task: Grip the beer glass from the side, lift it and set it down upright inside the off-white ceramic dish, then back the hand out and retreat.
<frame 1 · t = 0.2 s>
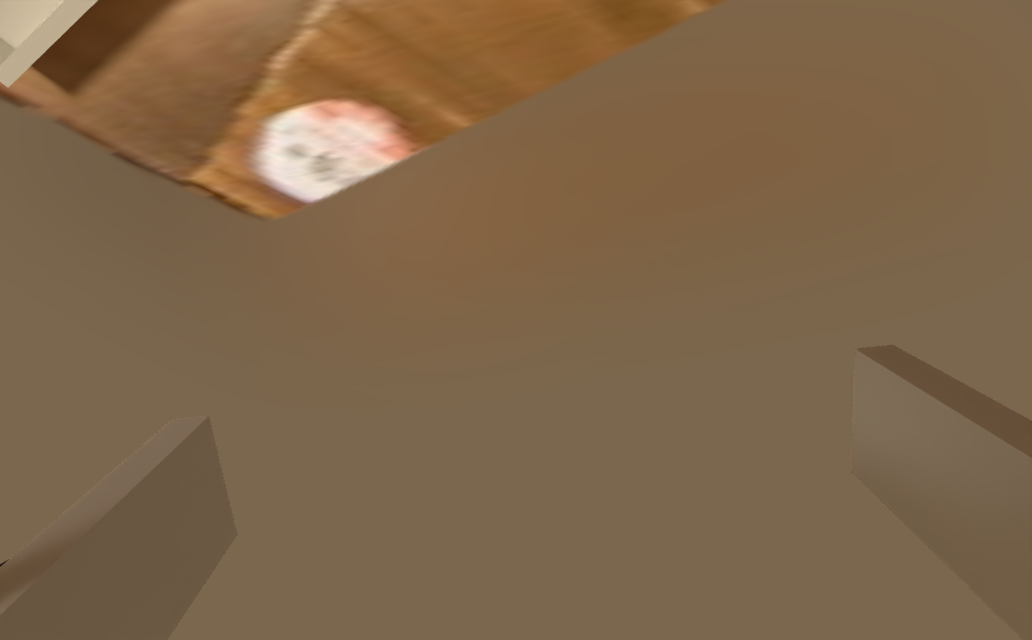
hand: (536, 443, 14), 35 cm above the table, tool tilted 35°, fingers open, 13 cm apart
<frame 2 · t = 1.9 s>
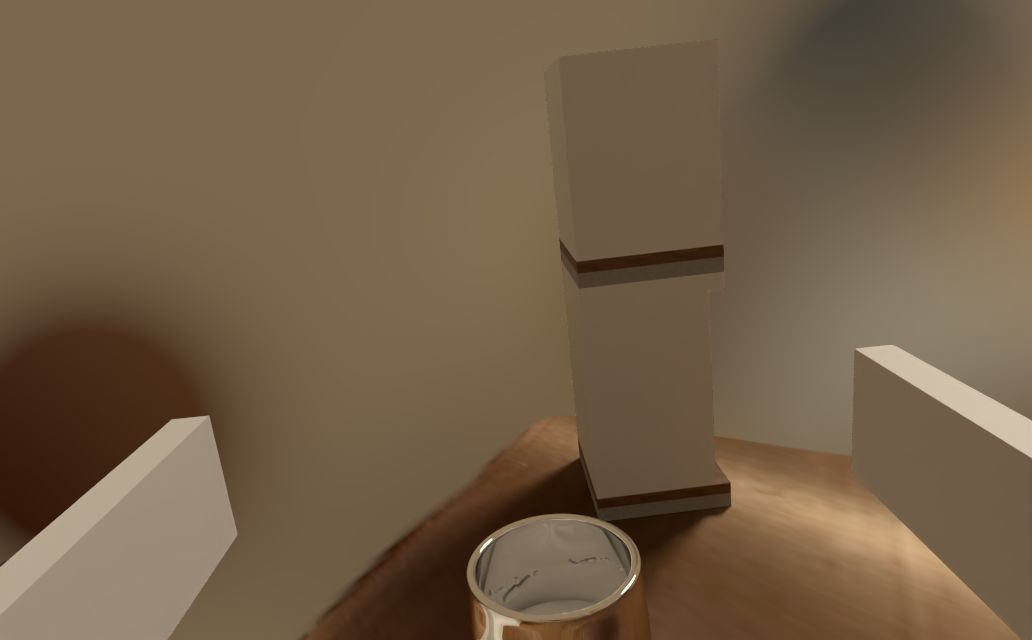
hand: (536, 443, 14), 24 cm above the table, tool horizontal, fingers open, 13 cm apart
tall white shelf unit: (648, 481, 61), on the table
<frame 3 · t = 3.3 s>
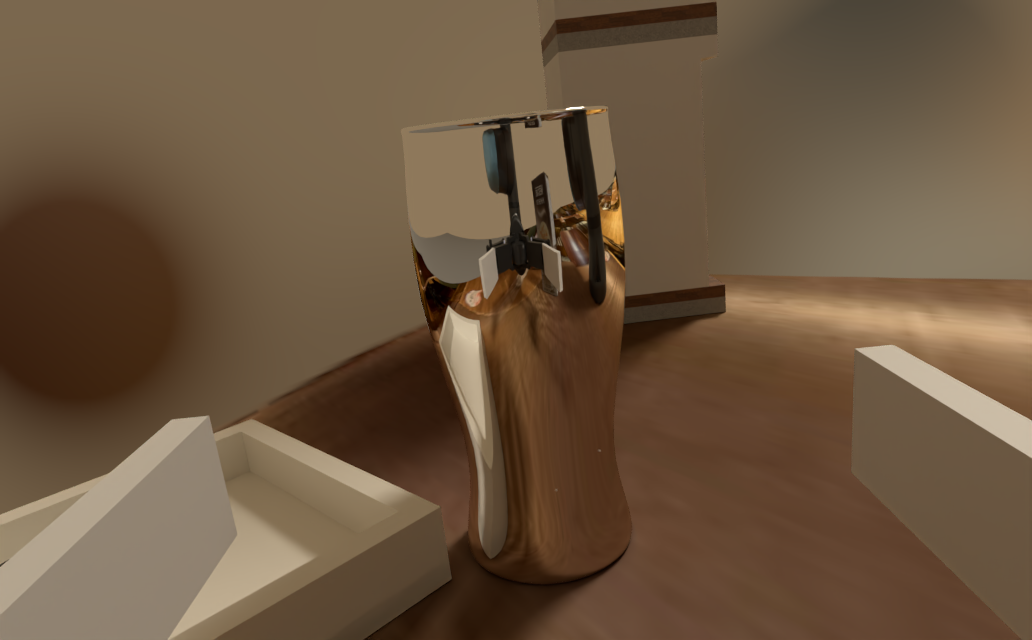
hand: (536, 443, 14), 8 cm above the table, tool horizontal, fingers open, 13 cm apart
tall white shelf unit: (637, 304, 56), on the table
beer glass: (550, 538, 26), on the table
dish: (167, 608, 24), on the table
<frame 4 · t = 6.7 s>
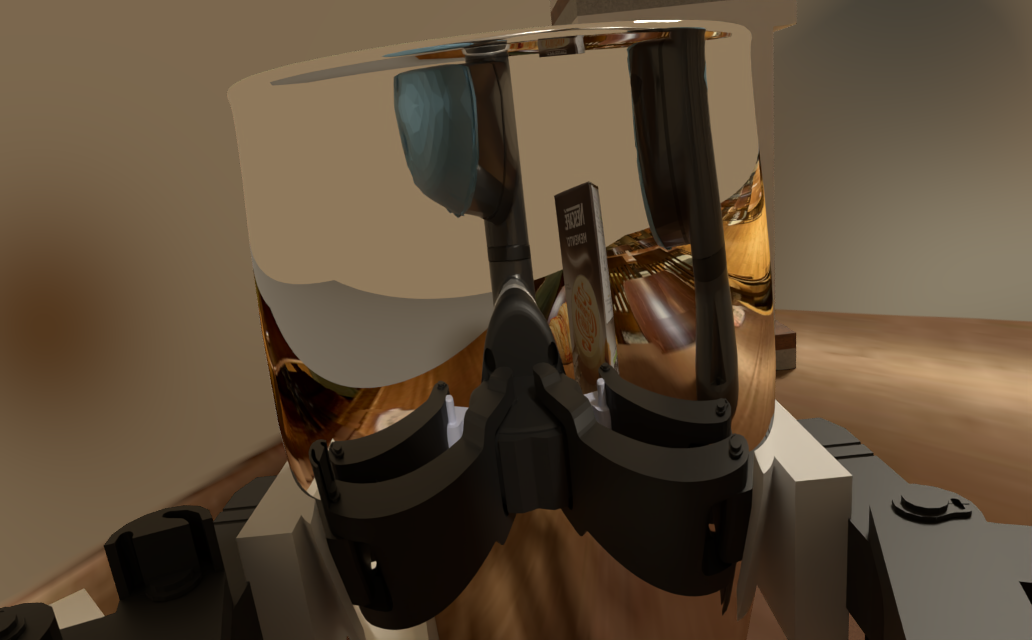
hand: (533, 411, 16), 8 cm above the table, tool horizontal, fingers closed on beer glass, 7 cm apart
tall white shelf unit: (673, 351, 44), on the table
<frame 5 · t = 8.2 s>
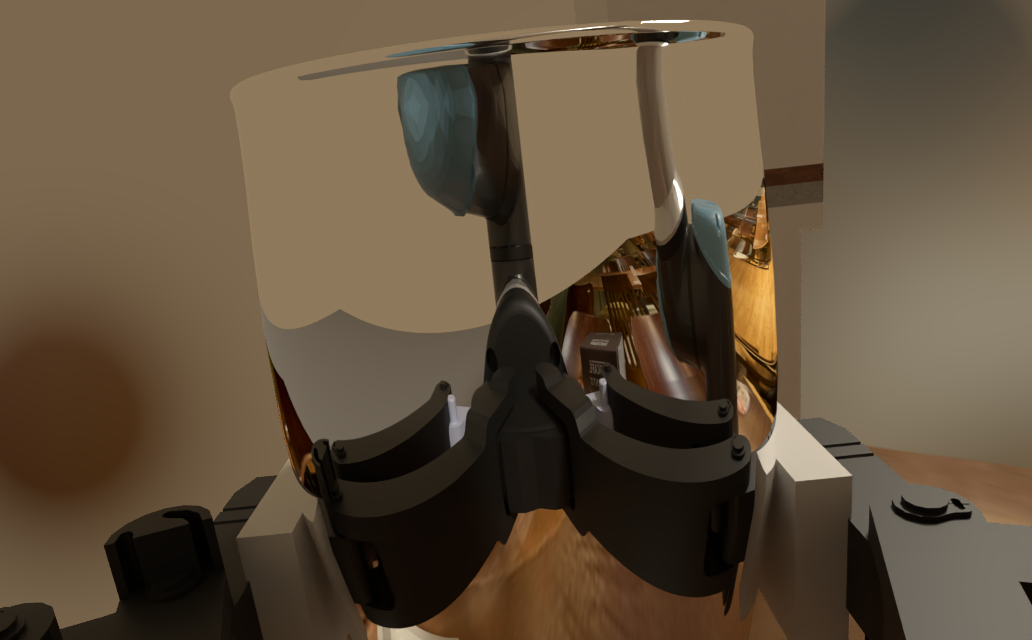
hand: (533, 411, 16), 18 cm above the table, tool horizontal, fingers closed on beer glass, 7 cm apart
tall white shelf unit: (701, 490, 47), on the table
when the fingers open (10 cm above the table, at t = 10.7 s): beer glass drops 1 cm, resting on dish.
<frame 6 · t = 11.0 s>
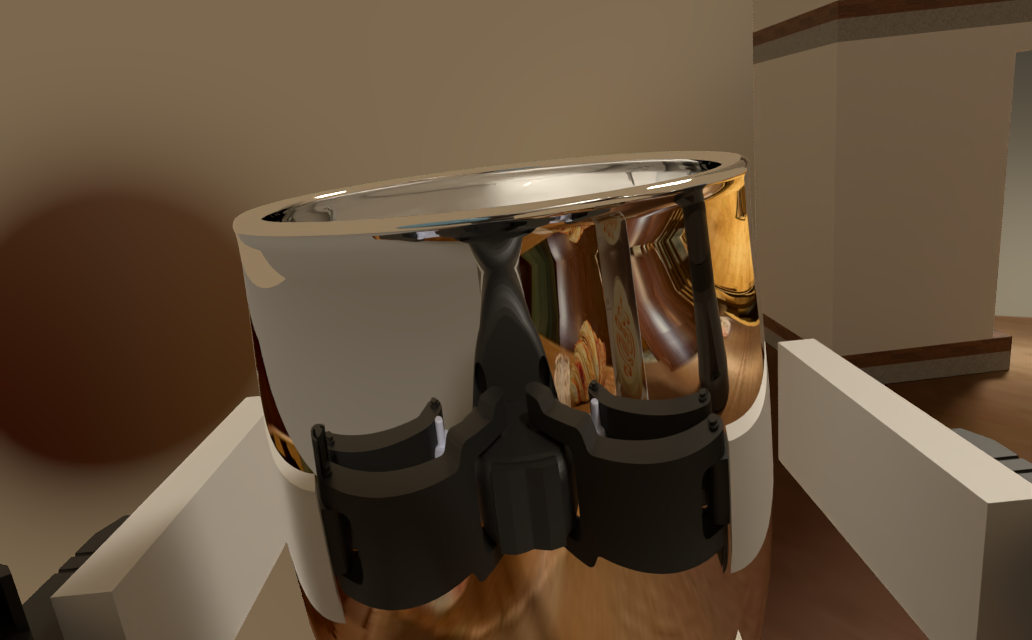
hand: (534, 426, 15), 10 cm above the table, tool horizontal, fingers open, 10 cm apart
tall white shelf unit: (868, 353, 46), on the table
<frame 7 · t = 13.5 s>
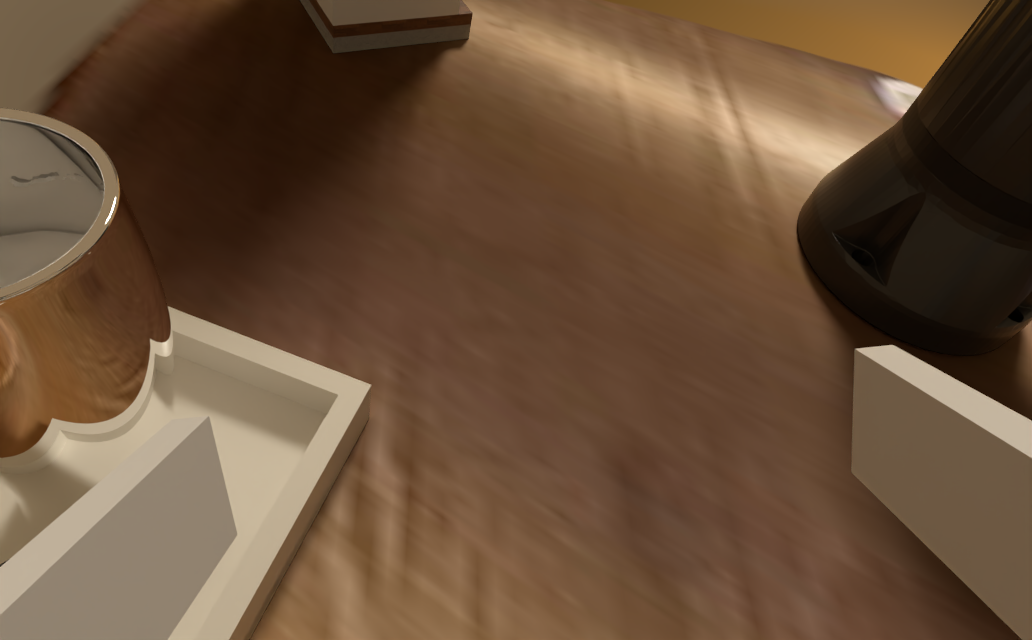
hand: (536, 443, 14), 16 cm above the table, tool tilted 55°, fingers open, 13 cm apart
tall white shelf unit: (374, 6, 53), on the table
beer glass: (121, 491, 27), point 1 cm above the table, touching dish
dish: (127, 496, 27), on the table
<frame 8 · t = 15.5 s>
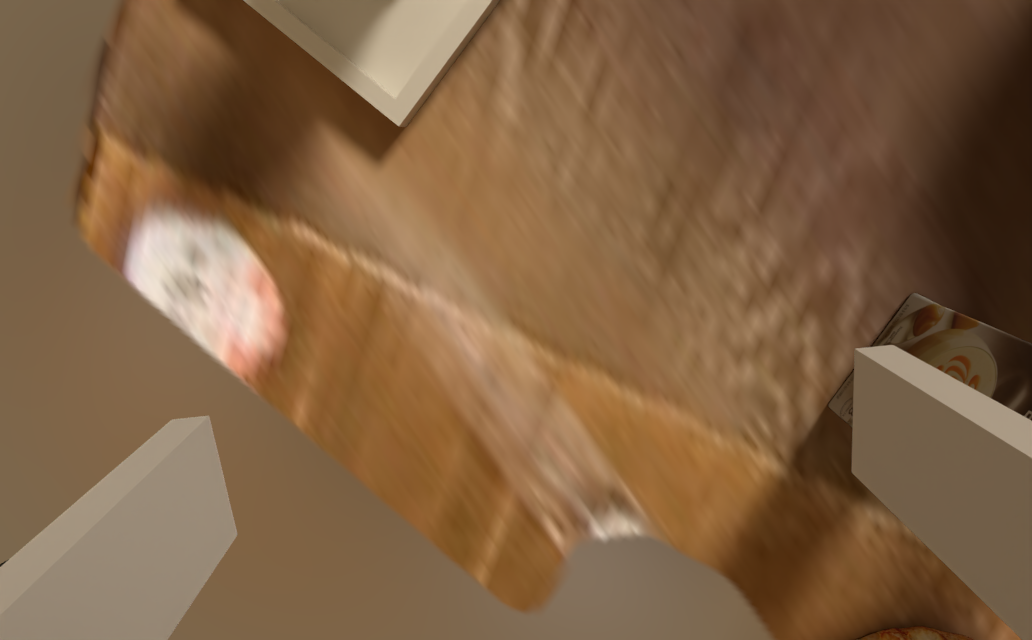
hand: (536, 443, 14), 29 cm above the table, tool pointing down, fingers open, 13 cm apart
coffee box: (903, 370, 45), on the table
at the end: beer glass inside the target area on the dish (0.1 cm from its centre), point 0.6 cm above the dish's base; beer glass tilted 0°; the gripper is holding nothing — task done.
